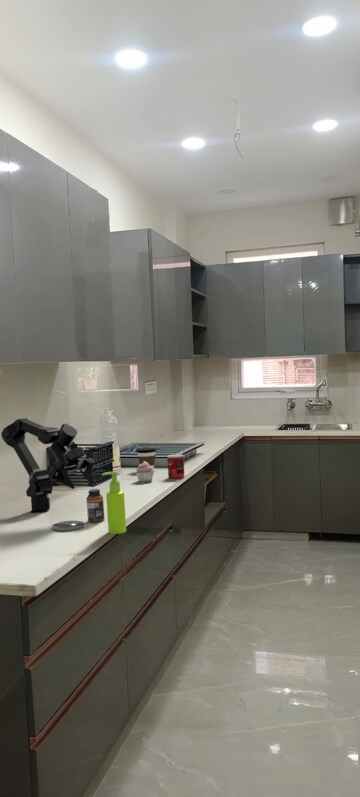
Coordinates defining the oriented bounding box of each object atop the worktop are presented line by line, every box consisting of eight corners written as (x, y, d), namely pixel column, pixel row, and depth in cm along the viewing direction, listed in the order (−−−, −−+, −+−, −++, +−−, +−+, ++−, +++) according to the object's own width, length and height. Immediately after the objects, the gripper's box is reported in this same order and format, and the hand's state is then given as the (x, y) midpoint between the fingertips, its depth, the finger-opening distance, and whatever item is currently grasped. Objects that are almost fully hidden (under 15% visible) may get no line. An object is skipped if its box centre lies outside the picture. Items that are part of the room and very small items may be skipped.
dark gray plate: (49, 532, 207) (49, 529, 207) (55, 524, 218) (54, 521, 218) (82, 530, 208) (82, 527, 208) (86, 522, 219) (85, 519, 219)
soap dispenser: (106, 529, 207) (103, 471, 206) (127, 528, 207) (123, 470, 206) (104, 534, 201) (100, 474, 200) (125, 533, 201) (121, 473, 200)
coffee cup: (143, 469, 332) (141, 447, 332) (161, 469, 328) (160, 447, 327) (133, 472, 322) (132, 450, 322) (152, 473, 318) (151, 450, 317)
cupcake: (135, 480, 299) (134, 460, 299) (154, 479, 300) (153, 458, 299) (135, 483, 290) (134, 462, 290) (155, 482, 291) (153, 461, 290)
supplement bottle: (96, 518, 225) (94, 487, 224) (108, 520, 221) (106, 488, 220) (84, 521, 220) (82, 490, 219) (95, 523, 216) (93, 491, 216)
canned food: (169, 476, 305) (168, 454, 304) (185, 476, 304) (184, 454, 303) (167, 479, 297) (166, 456, 297) (183, 478, 296) (182, 456, 296)
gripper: (51, 443, 219) (72, 475, 213) (91, 437, 233) (112, 467, 227) (39, 463, 225) (59, 496, 218) (79, 456, 239) (99, 486, 232)
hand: (83, 485), depth 224 cm, fingers open, 9 cm apart
